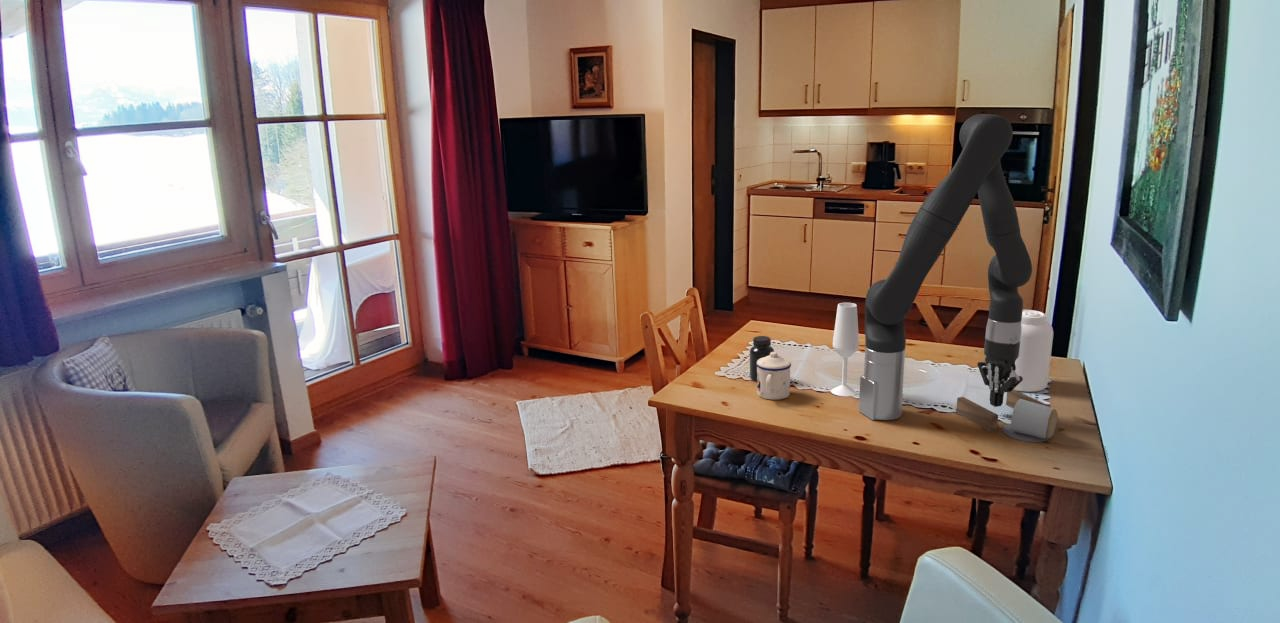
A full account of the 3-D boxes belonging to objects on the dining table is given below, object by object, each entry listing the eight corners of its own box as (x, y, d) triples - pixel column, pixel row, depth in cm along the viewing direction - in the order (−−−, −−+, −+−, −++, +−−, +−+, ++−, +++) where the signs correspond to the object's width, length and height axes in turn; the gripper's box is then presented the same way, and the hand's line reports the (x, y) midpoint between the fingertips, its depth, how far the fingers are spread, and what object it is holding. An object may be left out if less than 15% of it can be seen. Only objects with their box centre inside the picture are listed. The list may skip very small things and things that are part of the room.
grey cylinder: (1048, 444, 163) (1053, 412, 162) (1008, 435, 169) (1012, 404, 167) (1059, 429, 171) (1063, 398, 169) (1020, 421, 176) (1024, 390, 174)
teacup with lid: (759, 386, 204) (760, 346, 201) (793, 389, 201) (793, 348, 198) (750, 402, 194) (750, 360, 191) (785, 406, 190) (786, 363, 187)
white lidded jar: (1053, 382, 199) (1061, 311, 194) (1038, 396, 190) (1047, 321, 185) (1004, 373, 208) (1010, 303, 202) (987, 385, 199) (994, 313, 194)
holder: (990, 432, 171) (992, 416, 170) (956, 412, 183) (957, 397, 182) (1048, 422, 175) (1050, 406, 174) (1011, 403, 187) (1012, 388, 186)
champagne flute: (843, 385, 203) (846, 300, 197) (862, 392, 197) (866, 305, 191) (825, 390, 200) (828, 304, 193) (844, 398, 194) (848, 309, 188)
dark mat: (1024, 444, 164) (1024, 444, 164) (992, 427, 174) (992, 426, 174) (1061, 438, 167) (1061, 437, 167) (1027, 421, 176) (1027, 420, 176)
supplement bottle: (748, 374, 214) (748, 334, 211) (772, 374, 213) (772, 334, 210) (750, 383, 207) (751, 342, 204) (775, 382, 207) (776, 341, 204)
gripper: (970, 331, 181) (964, 397, 185) (1009, 347, 168) (1002, 417, 173) (996, 328, 183) (989, 394, 187) (1037, 343, 170) (1029, 413, 175)
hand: (995, 405), depth 180 cm, fingers closed
